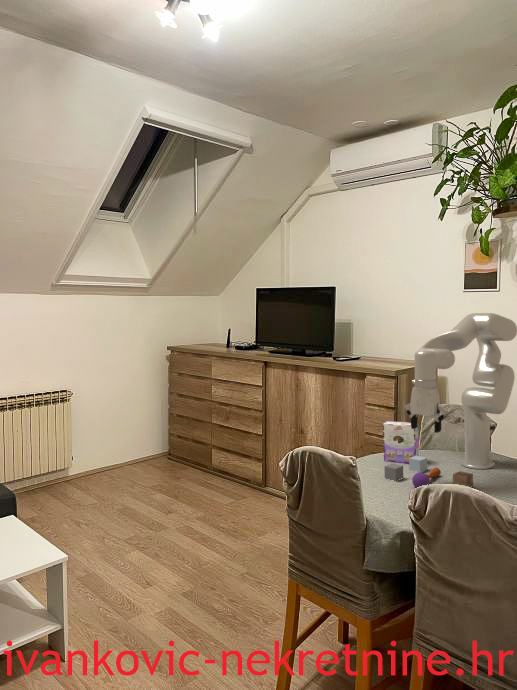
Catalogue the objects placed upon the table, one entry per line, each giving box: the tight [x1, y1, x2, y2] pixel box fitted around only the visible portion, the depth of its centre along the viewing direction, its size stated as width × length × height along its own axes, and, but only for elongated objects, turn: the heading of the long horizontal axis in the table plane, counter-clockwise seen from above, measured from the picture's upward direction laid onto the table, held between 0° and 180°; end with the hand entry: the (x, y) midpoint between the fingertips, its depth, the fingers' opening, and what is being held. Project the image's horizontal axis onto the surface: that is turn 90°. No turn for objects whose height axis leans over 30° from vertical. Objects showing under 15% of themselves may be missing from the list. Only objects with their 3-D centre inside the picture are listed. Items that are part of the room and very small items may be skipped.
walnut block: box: [452, 470, 474, 487], centre depth 200 cm, size 5×5×5 cm
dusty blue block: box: [408, 455, 428, 473], centre depth 222 cm, size 5×5×5 cm
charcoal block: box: [384, 462, 404, 482], centre depth 213 cm, size 5×5×5 cm
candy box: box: [382, 420, 420, 464], centre depth 234 cm, size 14×6×16 cm, turn 59°
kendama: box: [412, 466, 442, 488], centre depth 207 cm, size 6×6×20 cm
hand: (425, 430), depth 205 cm, fingers open, 9 cm apart
